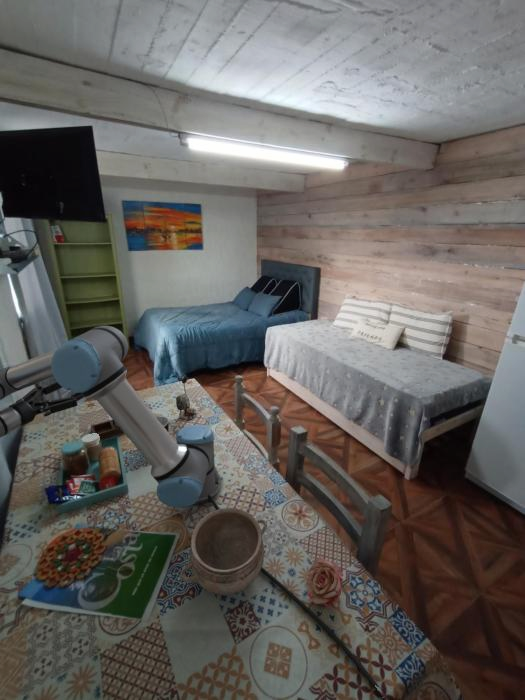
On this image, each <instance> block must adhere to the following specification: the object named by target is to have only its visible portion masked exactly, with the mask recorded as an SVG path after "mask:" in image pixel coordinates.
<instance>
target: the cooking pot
mask: <svg viewBox="0 0 525 700" xmlns="http://www.w3.org/2000/svg"><path fill="white" fill-rule="evenodd" d="M260 524H263V527H262V528H261V526H260ZM267 528H268V523H267V521H266V520H265V519H264V518H263V519H262V518H260V519H256V518H255V517H254V516H253V515H252V514H251V513H249V512H247V511H246V510H244V509H241V508H237V507H222V508H220V509H218V510H216V509H215V510H213V511H211V512H209V513H207V514H206V515H204V516H203V517H202V518H201V519H200V520H199V521H198V523H197V524H196V526H195V527H194V529H193V532H192V534H191V540H190V545H191V546H190V550H189V563H188V564H187V565H186V566H185V567H183V569H182V570H181V572H180V575H179V576H180V580H181V581H182V582H185V583H196V582H197V584H198V585H199V586H200V587H201V588H203V589H204V590H205V591H206V592H209V593H210V594H214V595H218V596H231V595H236V594H238V593H240V592H242V591H244V590H245V589H247V588H248V587H249V586H250V585H252V584H253V583H254V581H256V579H257V577H258V576H259V574H260V572H261V571H260V570H261V568H262V567H263V564H264V560H265V544H264V541H263V535H264V534H265V532H266V530H267ZM188 571H191V574H192V576H190V577H189V576H188V577H187V576H185V573H186V572H188Z"/></svg>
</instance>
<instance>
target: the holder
mask: <svg viewBox="0 0 525 700" xmlns="http://www.w3.org/2000/svg"><path fill="white" fill-rule="evenodd" d="M90 430H91V434H92V433H97V434H99V436H100V439H101V440H100V441H102V440H105V439H108V438H113V437H115V436H119V435H122V434H125V433H124V432H123V431H122V430H121V429H120V427H117V428H116V426H115V422H114V420H113V419H110V420H106V421H102V422H99V423H94V424H91V425H90Z"/></svg>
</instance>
